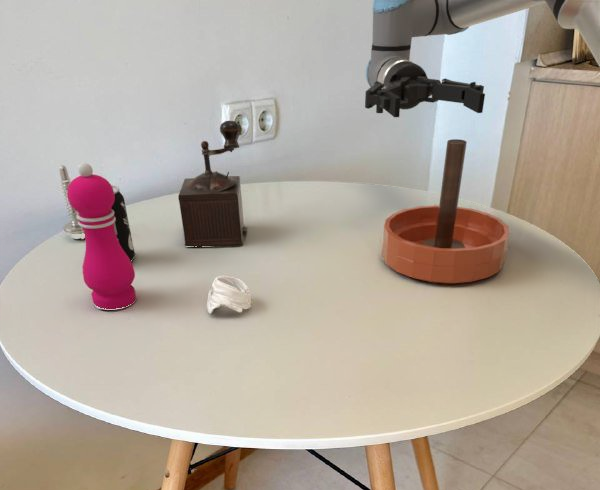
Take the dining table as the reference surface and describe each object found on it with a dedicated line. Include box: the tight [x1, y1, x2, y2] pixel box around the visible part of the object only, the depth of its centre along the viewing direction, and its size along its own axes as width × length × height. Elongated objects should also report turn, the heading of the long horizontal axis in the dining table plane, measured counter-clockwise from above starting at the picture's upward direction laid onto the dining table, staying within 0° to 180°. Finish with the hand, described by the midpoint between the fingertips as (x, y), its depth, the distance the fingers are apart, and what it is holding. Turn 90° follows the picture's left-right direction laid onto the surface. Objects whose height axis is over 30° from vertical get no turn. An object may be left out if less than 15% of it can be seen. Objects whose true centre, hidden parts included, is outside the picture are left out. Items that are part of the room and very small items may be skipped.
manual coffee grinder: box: [178, 120, 248, 248], centre depth 106 cm, size 16×11×18 cm
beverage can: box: [111, 184, 136, 262], centre depth 97 cm, size 7×7×12 cm
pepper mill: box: [67, 162, 137, 309], centre depth 83 cm, size 7×7×20 cm
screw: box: [58, 164, 84, 235], centre depth 106 cm, size 13×5×5 cm
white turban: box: [206, 275, 252, 315], centre depth 86 cm, size 8×7×5 cm
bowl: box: [381, 205, 511, 284], centre depth 97 cm, size 20×20×6 cm
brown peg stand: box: [421, 139, 468, 249], centre depth 93 cm, size 7×7×18 cm
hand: (439, 105), depth 93 cm, fingers open, 13 cm apart
